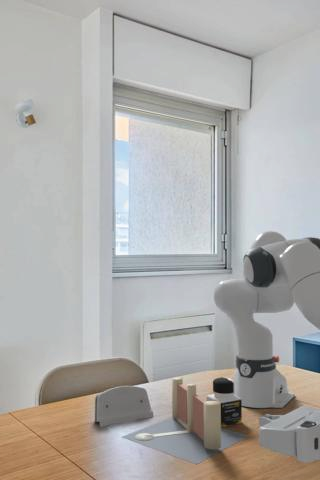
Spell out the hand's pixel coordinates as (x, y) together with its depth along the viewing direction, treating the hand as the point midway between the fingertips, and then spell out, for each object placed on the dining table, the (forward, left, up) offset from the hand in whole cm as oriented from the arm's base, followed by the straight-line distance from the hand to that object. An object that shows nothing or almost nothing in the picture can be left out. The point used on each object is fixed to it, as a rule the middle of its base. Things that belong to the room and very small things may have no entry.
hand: (262, 419), depth 105 cm
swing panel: (-2, -17, -9) cm, 19 cm away
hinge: (-2, -46, -11) cm, 48 cm away
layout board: (-2, -23, -10) cm, 26 cm away
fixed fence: (-9, -29, -10) cm, 32 cm away
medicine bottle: (-18, -22, -11) cm, 31 cm away
